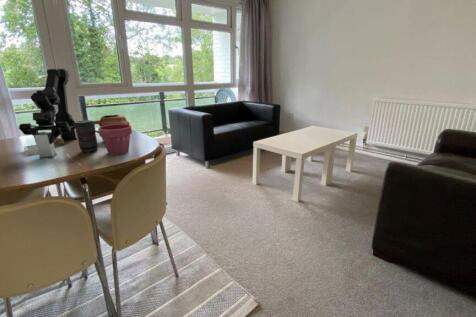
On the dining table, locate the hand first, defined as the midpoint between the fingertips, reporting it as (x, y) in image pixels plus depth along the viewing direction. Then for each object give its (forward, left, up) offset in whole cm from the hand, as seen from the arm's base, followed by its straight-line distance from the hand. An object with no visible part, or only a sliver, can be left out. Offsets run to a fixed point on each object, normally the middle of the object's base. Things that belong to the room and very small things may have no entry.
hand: (44, 144), depth 117 cm
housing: (-1, -1, -7) cm, 7 cm away
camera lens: (-17, +2, -7) cm, 19 cm away
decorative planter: (-33, -13, -7) cm, 36 cm away
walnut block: (-7, -21, -7) cm, 23 cm away
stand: (+2, -15, -7) cm, 17 cm away
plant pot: (-27, +13, -7) cm, 31 cm away
